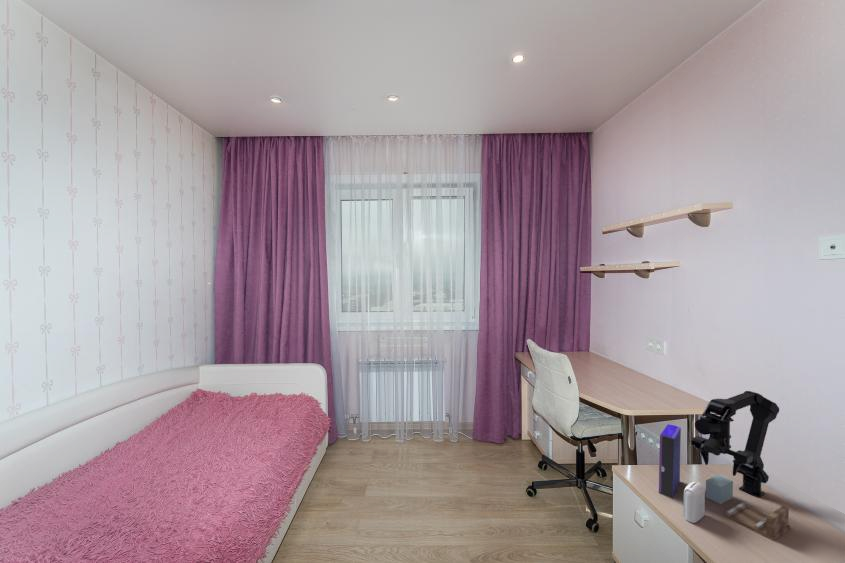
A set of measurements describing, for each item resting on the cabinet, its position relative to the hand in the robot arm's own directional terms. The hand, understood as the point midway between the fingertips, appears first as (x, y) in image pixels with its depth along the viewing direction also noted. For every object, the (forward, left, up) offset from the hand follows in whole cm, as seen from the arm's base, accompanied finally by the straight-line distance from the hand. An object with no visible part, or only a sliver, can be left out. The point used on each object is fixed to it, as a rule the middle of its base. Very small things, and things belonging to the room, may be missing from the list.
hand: (720, 470), depth 142 cm
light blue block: (0, 0, -11) cm, 11 cm away
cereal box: (+11, -13, -11) cm, 21 cm away
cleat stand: (+6, +13, -11) cm, 19 cm away
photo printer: (+24, +2, -11) cm, 27 cm away
